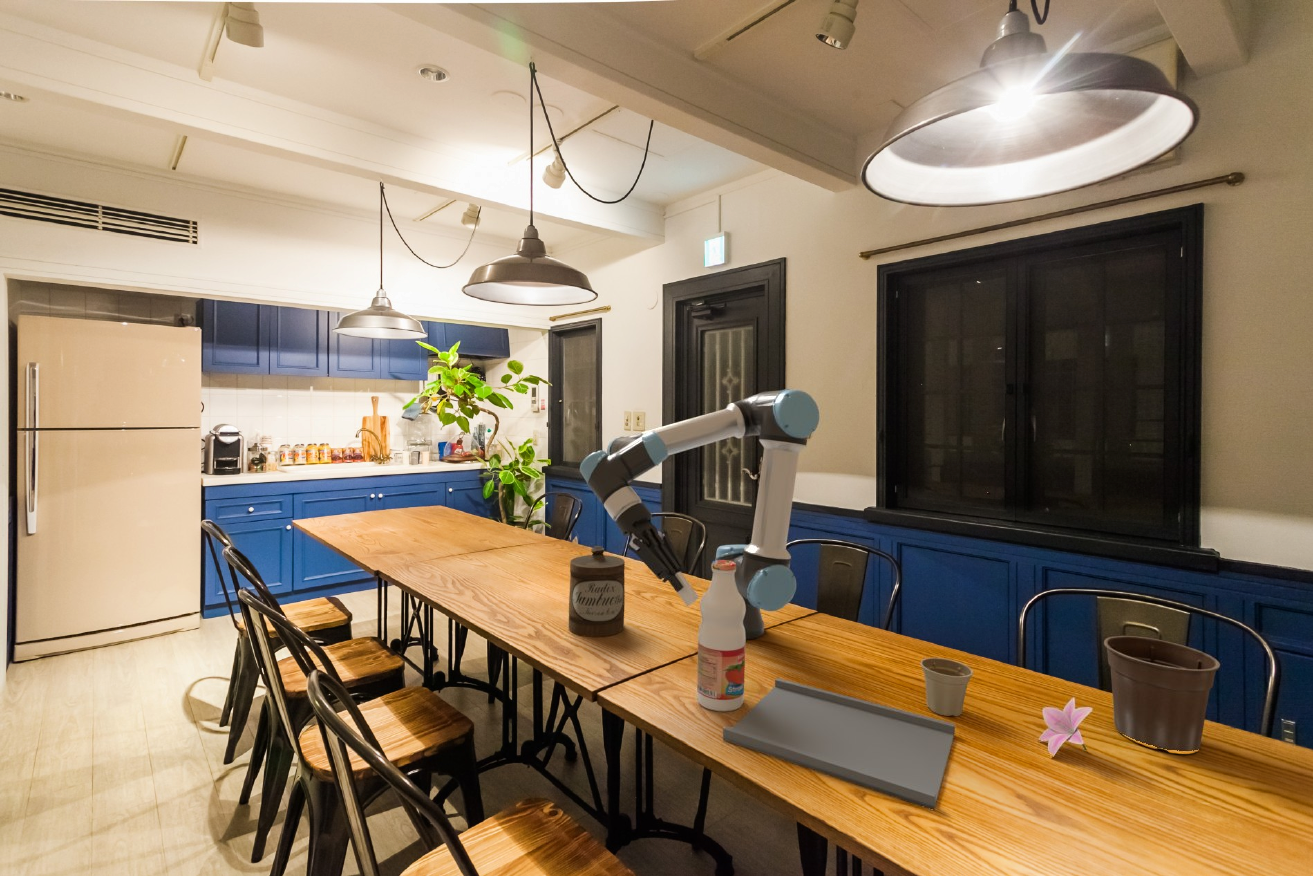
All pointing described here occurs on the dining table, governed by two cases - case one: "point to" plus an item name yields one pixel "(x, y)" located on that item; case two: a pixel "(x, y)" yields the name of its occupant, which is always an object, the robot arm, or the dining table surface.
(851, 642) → the dining table surface
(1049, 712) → the lily
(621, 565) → the wooden container
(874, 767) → the gray tray
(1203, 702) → the plant pot
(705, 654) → the fruit juice
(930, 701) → the flower pot
